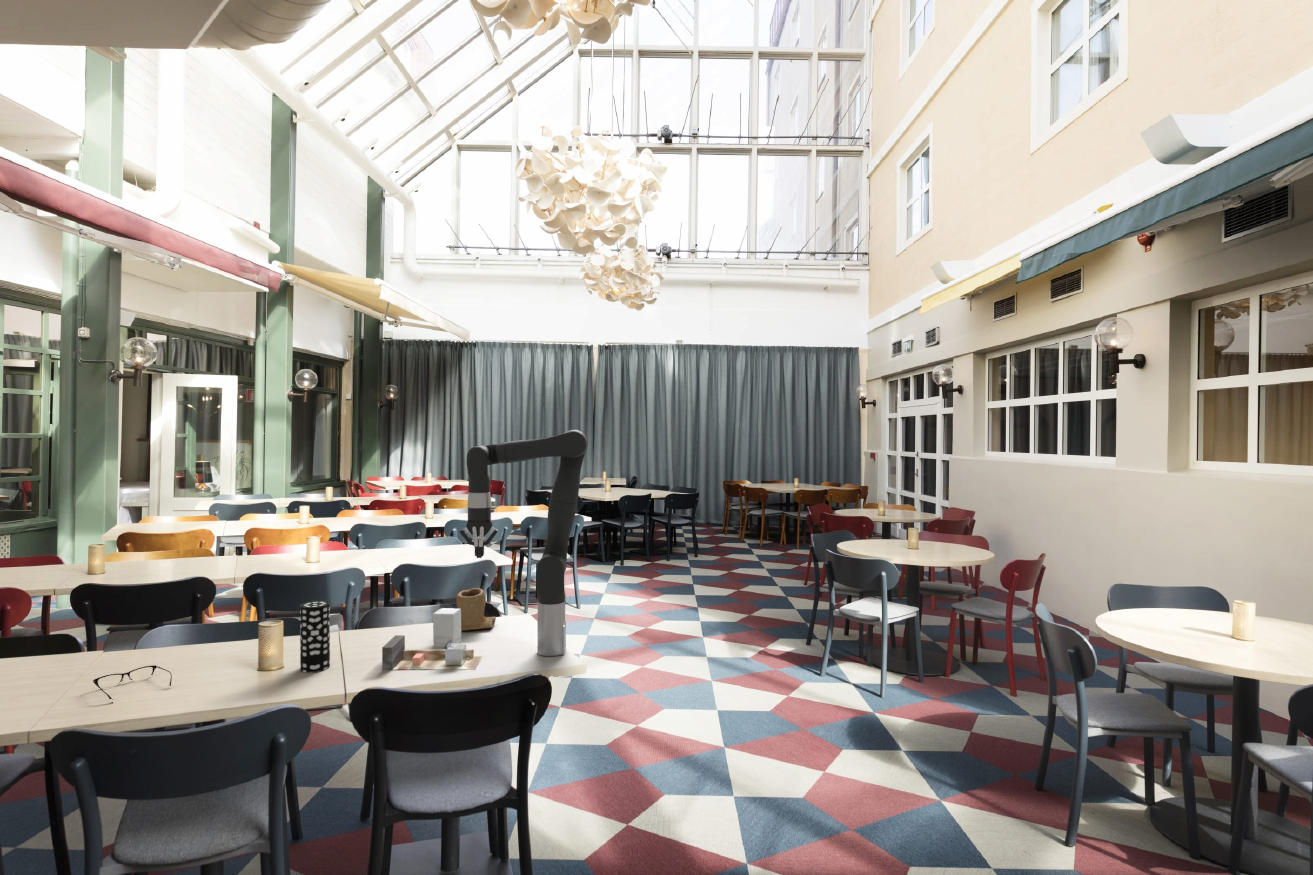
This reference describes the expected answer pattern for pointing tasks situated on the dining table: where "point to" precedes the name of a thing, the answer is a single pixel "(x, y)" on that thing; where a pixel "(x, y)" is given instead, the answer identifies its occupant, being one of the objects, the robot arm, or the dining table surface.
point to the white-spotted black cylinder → (314, 636)
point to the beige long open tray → (433, 659)
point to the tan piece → (473, 610)
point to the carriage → (455, 653)
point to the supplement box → (446, 626)
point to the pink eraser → (417, 659)
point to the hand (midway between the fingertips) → (479, 557)
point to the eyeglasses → (128, 676)
